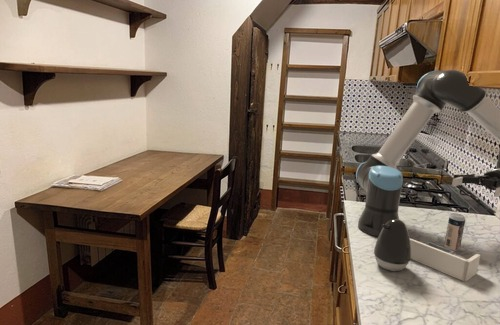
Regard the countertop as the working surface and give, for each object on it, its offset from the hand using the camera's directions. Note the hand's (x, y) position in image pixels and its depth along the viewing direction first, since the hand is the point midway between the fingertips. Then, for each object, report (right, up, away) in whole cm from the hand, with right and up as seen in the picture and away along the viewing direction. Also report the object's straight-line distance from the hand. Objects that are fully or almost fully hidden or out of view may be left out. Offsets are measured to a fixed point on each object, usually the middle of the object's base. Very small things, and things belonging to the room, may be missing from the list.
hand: (474, 187), depth 123 cm
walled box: (-19, -22, -10) cm, 31 cm away
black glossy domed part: (-35, -23, -16) cm, 45 cm away
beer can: (-8, -21, -1) cm, 23 cm away
